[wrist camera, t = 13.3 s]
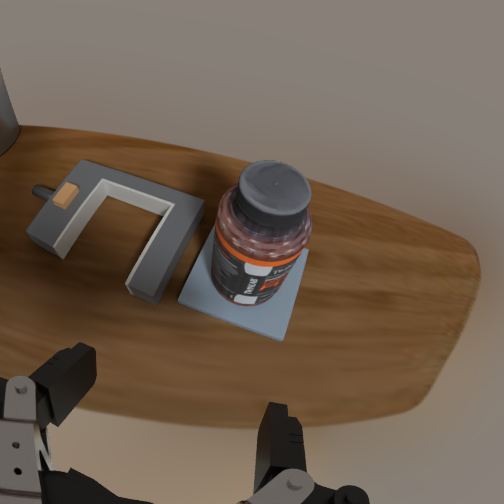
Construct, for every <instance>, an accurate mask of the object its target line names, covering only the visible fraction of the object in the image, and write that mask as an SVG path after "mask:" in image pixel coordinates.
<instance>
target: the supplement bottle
mask: <svg viewBox="0 0 504 504" xmlns="http://www.w3.org/2000/svg"><path fill="white" fill-rule="evenodd" d="M310 200H311V188H310V184H309V183H308V181H307V179H306V178H305V176H304V175H303V174H302V173H300V172H299V171H298V170H296V169H295V168H293V167H292V166H290V165H288V164H285V163H282V162H278V161H274V160H263V161H257V162H254V163H252V164H250V165H248V166H247V167H246V168H244V170H243V171H242V173H241V175H240V177H239V181H238V183H237V184H235V185H234V186H232V187H231V188H230V189H228V190H227V191H226V193H225V194H224V195H223V196H222V198H221V200H220V202H219V205H218V209H217V216H216V223H215V232H214V243H213V252H212V263H211V278H212V282H213V284H214V286H215V288H216V290H217V291H218V292H219V294H220V295H221V296H222V297H223V298H225V299H226V300H227V301H229V302H231V303H233V304H236V305H240V306H257V305H260V304H262V303H264V302H266V301H268V300H269V299H270V298H271V297H272V296H273V295H274V294H275V293H276V292H277V291H278V290H279V288H280V286H281V285H282V283H283V281H284V280H285V279H286V277H287V275H288V273H289V271H290V270H291V269H292V267H293V265H294V264H295V262H296V261H297V259H298V257H299V256H300V255H301V252H302V250H303V249H304V247H305V246H306V244H307V242H308V240H309V238H310V234H311V231H312V218H311V213H310V211H309V208H308V205H309V203H310Z"/></svg>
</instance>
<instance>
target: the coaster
mask: <svg viewBox="0 0 504 504" xmlns="http://www.w3.org/2000/svg"><path fill="white" fill-rule="evenodd" d="M215 223H216V222H215ZM214 232H215V224H214V226H213V228H212V230H211V232H210V234H209V236H208V238H207V240H206V242H205V244H204V246H203V248H202V250H201V252H200V254H199V256H198V259H197V261H196V263H195V265H194V267H193V269H192V271H191V273H190V275H189V277H188V279H187V281H186V283H185V285H184V288H183V290H182V292H181V294H180V296H179V298H178V303H181V304H183V305H185V306H188V307H190V308H193V309H195V310H198V311H200V312H203V313H205V314H208V315H210V316H213V317H215V318H218V319H220V320H223V321H225V322H228V323H231V324H233V325H236V326H239V327H241V328H244V329H247V330H250V331H252V332H255V333H258V334H261V335H263V336H266V337H269V338H272V339H275V340H278V341H281V342H282V341H283V339H284V336H285V333H286V329H287V326H288V323H289V319H290V316H291V312H292V309H293V306H294V302H295V299H296V295H297V292H298V288H299V285H300V281H301V277H302V274H303V270H304V266H305V263H306V259H307V255H308V251H309V250H308V249H305V248H304V249H303V250H302V252H301V255H300V256H299V257H298V259H297V261H296V262H295V264H294V265H293V267H292V269H291V270H290V271H289V273H288V275H287V277H286V279H285V280H284V281H283V283H282V285H281V286H280V288H279V290H278V291H277V292H276V293H275V294H274V295H273V296H272V297H271V298H270V299H269V300H268V301H266V302H264V303H262V304H260V305H257V306H240V305H236V304H233V303H231V302H229V301H227V300H226V299H225V298H223V297H222V296H221V295H220V294H219V292H218V291H217V290H216V288H215V286H214V284H213V282H212V278H211V263H212V252H213V243H214Z"/></svg>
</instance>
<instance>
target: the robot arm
mask: <svg viewBox="0 0 504 504" xmlns="http://www.w3.org/2000/svg"><path fill="white" fill-rule="evenodd" d="M19 132H20V127H19V124H18V122H17V119H16V116H15V114H14V111H13V108H12V105H11V102H10V99H9V96H8V93H7V90H6V87H5V84H4V80H3V76H2V73H1V69H0V155H2V154H3V153H4V152H5V151H6V150H7V149H8V148H9V147H10V146H11V145H12V144H13V143H14V141H15V140H16V139H17V137H18V135H19ZM96 376H97V370H96V351H95V349H94V348H93V347H90V346H88V345H86V344H84V343H81V342H79V343H78V344H77V345H75V346H74V347H73V348H72V349H70V348H66V349H64V350H61V351H59V352H57V353H56V354H55V355H54V356H53V357H52V358H50V359H49V360H48V361H47V362H45V363H44V364H43V365H42V366H41V367H40V368H38V369H37V370H36V371H35V372H34V373H33V374H31V375H30V376H29V377H25V376H16V377H13V378H11V379H10V380H7V379H4V378H1V377H0V504H153V503H150V502H146V501H139V500H132V499H127V498H122V497H118V496H116V495H115V494H113V493H112V492H110V491H109V490H108V489H106V488H105V487H103V486H102V485H101V484H99V483H98V482H97V481H95V480H94V479H92V478H90V477H88V476H86V475H84V474H82V473H80V472H78V471H76V470H74V469H72V468H70V470H69V472H68V473H65V472H61V471H55V470H54V467H53V464H52V459H51V453H50V446H49V438H48V429H47V425H48V424H49V423H50V422H51V423H52V424H54V425H56V426H57V427H59V425H60V424H61V423H62V422H63V420H64V419H65V418H66V417H67V416H68V415H69V413H70V412H71V411H72V410H73V409H74V407H75V406H76V405H77V404H78V403H79V401H80V400H81V399H82V398H83V397H84V396H85V394H86V393H87V392H88V391H89V390H90V388H91V387H92V386H93V385H94V383H95V380H96ZM303 443H304V441H303V431H302V426H301V424H300V422H299V421H298V419H297V418H296V417H289V416H288V408H287V405H285V404H279V403H274V402H269V404H268V406H267V409H266V412H265V414H264V417H263V419H262V422H261V424H260V427H259V431H258V437H257V452H256V466H255V480H254V494H253V496H251V497H250V498H249V499H247V500H246V501H240V502H238V503H237V504H370V503H369V498H368V495H367V494H366V492H365V491H364V490H362V489H361V488H359V487H357V486H351V485H347V486H343V487H341V488H339V489H338V490H334V489H330V488H327V487H323V486H320V485H318V484H316V483H315V482H314V481H313V479H312V477H311V476H310V475H309V474H308V473H307V470H306V460H305V450H304V444H303Z"/></svg>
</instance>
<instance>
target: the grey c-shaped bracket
mask: <svg viewBox="0 0 504 504" xmlns="http://www.w3.org/2000/svg"><path fill="white" fill-rule="evenodd" d="M32 194H33V195H35V196H37V197H39V198H42V199H44V200H46V201H47V202H46V203H45V205H44V206H43V207H42V209H41V210H40V211H39V213H38V214H37V216H36V217H35V218H34V220H33V221H32V223H31V224H30V226H29V227H28V228H27V230H26V233H27V234H28V235H29V236H30V238H31V239H32V240H33V242H34V243H35V244H37V245H39V246H40V247H42V248H44V249H46V250H47V251H49V252H51V253H53V254H54V255H56V256H58V257H60V258H62V259H63V260H64V258H65V257H66V255H67V253H68V252H69V250H70V249H71V247H72V245H73V244H74V242H75V241H76V239H77V238H78V236H79V235H80V233H81V232H82V230H83V229H84V227H85V226H86V224H87V223H88V221H89V220H90V219H91V217H92V216H93V214H94V213H95V212H96V210H97V209H98V207H99V206H100V205H101V203H102V202H103V201H104V199H105V198H106V197H107V195H108V196H110V197H113V198H116V199H118V200H121V201H124V202H126V203H129V204H132V205H134V206H137V207H140V208H142V209H145V210H148V211H150V212H153V213H156V214H159V215H161V216H164V217H163V218H162V220H161V222H160V223H159V225H158V227H157V228H156V230H155V232H154V233H153V235H152V237H151V238H150V240H149V242H148V243H147V245H146V247H145V248H144V250H143V252H142V254H141V255H140V257H139V259H138V261H137V262H136V264H135V266H134V268H133V270H132V271H131V273H130V275H129V277H128V279H127V280H126V282H125V285H126V287H127V288H128V290H129V292H130V294H132V295H134V296H136V297H138V298H141V299H143V300H145V301H147V302H149V303H152V304H154V305H156V306H157V305H158V303H159V301H160V299H161V297H162V294H163V292H164V290H165V288H166V286H167V284H168V282H169V280H170V278H171V276H172V274H173V272H174V270H175V268H176V266H177V264H178V263H179V261H180V259H181V257H182V255H183V253H184V251H185V249H186V247H187V245H188V243H189V241H190V240H191V238H192V236H193V234H194V232H195V230H196V228H197V226H198V225H199V223H200V221H201V219H202V217H203V215H204V205H205V200H203V199H200V198H197V197H194V196H192V195H189V194H186V193H183V192H180V191H177V190H174V189H171V188H168V187H166V186H163V185H160V184H157V183H154V182H151V181H148V180H145V179H142V178H139V177H136V176H133V175H130V174H127V173H123V172H120V171H117V170H114V169H111V168H108V167H105V166H102V165H98V164H95V163H92V162H89V161H86V160H81V161H80V162H79V163H78V164H77V166H76V167H75V168H74V169H73V170H72V171H71V172H70V174H69V175H68V176H67V177H66V178H65V180H64V181H63V182H62V183H61V184H60V186H59V187H58V188H57V189H56V191H55V192H54V191H51V190H49V189H47V188H44V187H42V186H40V185H35V186H34V187H33V188H32Z"/></svg>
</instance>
